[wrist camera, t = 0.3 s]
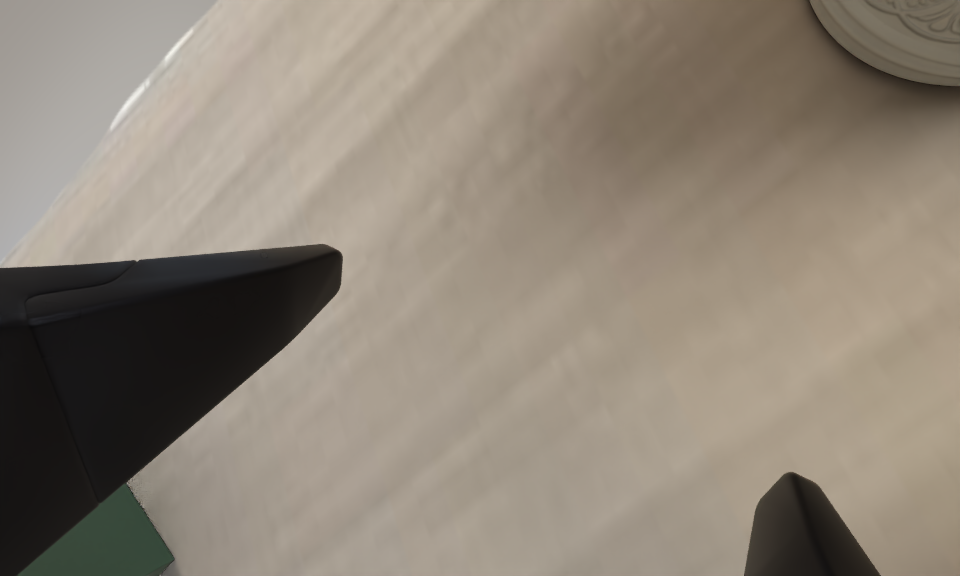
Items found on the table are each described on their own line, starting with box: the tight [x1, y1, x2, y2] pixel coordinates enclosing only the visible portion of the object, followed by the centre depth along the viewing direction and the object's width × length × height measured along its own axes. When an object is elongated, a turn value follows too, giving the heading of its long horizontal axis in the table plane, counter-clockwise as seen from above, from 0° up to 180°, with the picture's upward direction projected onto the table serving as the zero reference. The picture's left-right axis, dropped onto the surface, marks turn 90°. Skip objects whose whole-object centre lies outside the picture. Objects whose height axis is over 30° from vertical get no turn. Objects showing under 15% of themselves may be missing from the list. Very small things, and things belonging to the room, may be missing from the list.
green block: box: [17, 483, 174, 576], centre depth 26 cm, size 7×3×7 cm, turn 44°
